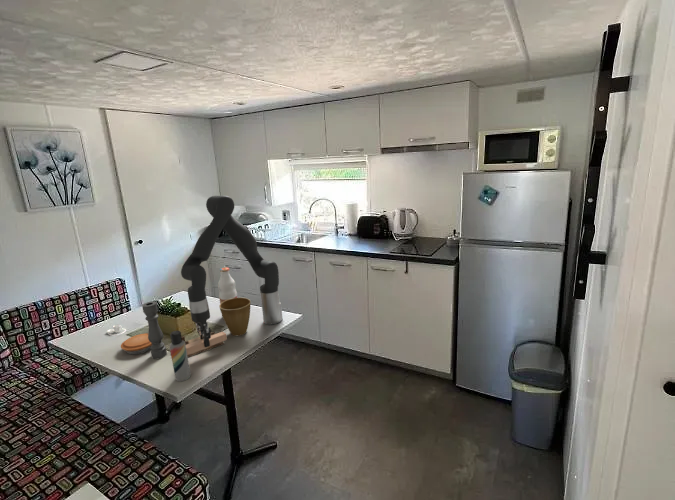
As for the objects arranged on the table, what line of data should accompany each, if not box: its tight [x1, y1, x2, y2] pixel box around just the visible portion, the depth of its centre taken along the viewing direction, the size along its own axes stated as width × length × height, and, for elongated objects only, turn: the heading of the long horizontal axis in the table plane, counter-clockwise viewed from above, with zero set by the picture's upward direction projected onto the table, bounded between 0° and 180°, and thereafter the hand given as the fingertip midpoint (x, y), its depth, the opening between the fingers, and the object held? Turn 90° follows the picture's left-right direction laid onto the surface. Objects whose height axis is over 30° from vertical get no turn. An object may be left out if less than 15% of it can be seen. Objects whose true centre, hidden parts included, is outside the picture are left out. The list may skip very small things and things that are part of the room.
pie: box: [120, 332, 152, 355], centre depth 170 cm, size 15×16×5 cm
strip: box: [186, 331, 228, 355], centre depth 159 cm, size 18×4×3 cm, turn 130°
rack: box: [181, 328, 225, 358], centre depth 168 cm, size 20×14×7 cm
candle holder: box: [141, 301, 168, 360], centre depth 160 cm, size 6×6×25 cm
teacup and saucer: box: [106, 324, 127, 337], centre depth 188 cm, size 9×8×4 cm
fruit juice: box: [217, 267, 238, 319], centre depth 197 cm, size 9×9×28 cm
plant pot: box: [219, 297, 251, 337], centre depth 178 cm, size 15×15×16 cm
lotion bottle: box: [169, 330, 192, 382], centre depth 142 cm, size 6×6×20 cm
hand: (205, 344), depth 159 cm, fingers closed on strip, 3 cm apart
